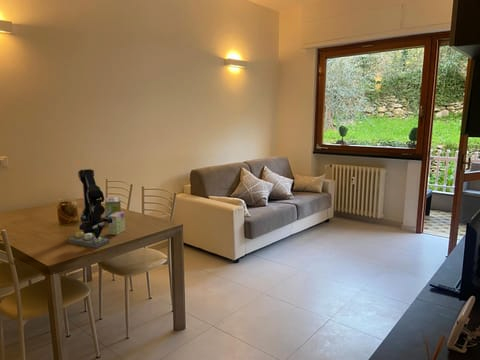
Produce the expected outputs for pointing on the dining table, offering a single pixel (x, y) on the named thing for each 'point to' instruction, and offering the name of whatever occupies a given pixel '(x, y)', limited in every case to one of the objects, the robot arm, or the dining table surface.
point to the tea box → (112, 206)
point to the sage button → (97, 239)
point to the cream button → (88, 236)
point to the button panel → (88, 241)
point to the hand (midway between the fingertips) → (97, 238)
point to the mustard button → (79, 234)
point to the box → (116, 223)
